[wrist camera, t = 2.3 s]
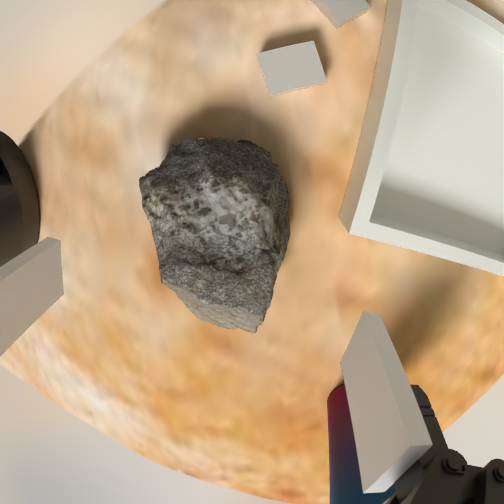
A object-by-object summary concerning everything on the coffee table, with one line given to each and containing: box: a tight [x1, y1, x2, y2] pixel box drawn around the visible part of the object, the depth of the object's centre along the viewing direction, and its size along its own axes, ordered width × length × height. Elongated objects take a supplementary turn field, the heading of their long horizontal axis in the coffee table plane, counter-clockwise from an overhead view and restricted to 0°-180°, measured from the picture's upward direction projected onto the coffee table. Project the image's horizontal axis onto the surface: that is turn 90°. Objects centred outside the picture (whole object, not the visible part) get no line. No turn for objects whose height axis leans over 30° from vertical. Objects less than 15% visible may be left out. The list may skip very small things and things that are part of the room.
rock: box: [139, 137, 290, 333], centre depth 20 cm, size 13×9×6 cm, turn 17°
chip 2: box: [311, 0, 371, 29], centre depth 16 cm, size 3×3×2 cm
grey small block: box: [257, 41, 327, 97], centre depth 18 cm, size 4×3×2 cm
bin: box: [339, 0, 504, 276], centre depth 17 cm, size 17×18×4 cm
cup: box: [327, 384, 396, 504], centre depth 22 cm, size 7×7×15 cm
